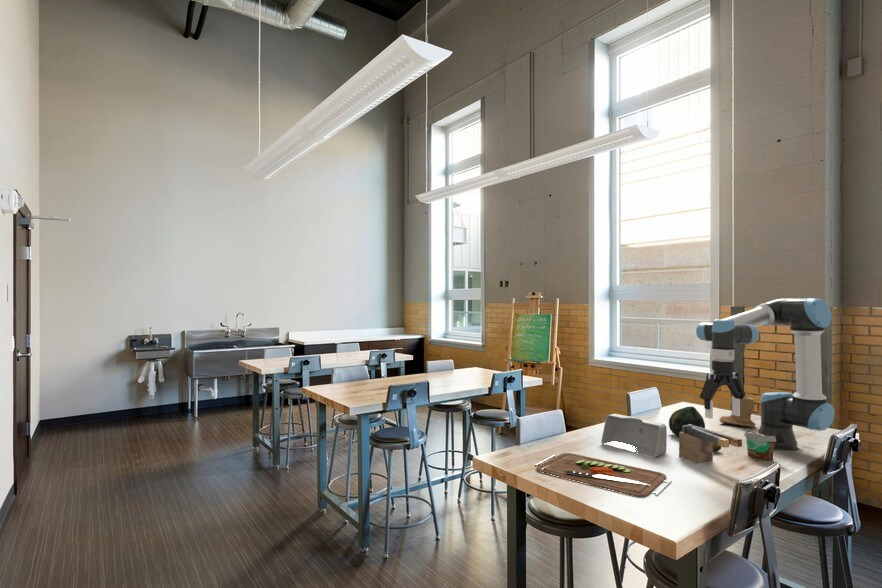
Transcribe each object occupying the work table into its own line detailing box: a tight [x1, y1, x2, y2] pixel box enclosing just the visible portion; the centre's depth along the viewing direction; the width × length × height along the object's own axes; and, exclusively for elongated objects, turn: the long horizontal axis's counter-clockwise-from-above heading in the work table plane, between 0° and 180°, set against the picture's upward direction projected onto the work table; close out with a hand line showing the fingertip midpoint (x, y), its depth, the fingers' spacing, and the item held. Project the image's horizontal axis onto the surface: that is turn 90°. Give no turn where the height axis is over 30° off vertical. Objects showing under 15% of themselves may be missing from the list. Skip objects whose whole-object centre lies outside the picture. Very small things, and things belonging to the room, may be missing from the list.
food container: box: [744, 428, 776, 462], centre depth 204 cm, size 12×6×10 cm, turn 21°
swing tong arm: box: [686, 424, 730, 448], centre depth 193 cm, size 2×21×3 cm, turn 10°
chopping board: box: [534, 452, 672, 498], centre depth 184 cm, size 45×27×3 cm, turn 51°
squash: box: [668, 405, 706, 437], centre depth 235 cm, size 14×15×15 cm
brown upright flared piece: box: [719, 395, 756, 427], centre depth 257 cm, size 15×12×15 cm
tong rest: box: [678, 425, 743, 464], centre depth 195 cm, size 8×23×13 cm, turn 20°
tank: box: [600, 413, 668, 459], centre depth 217 cm, size 25×16×12 cm, turn 39°
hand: (722, 416), depth 190 cm, fingers open, 13 cm apart
